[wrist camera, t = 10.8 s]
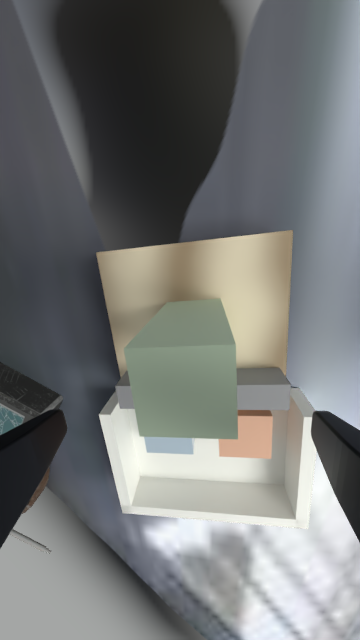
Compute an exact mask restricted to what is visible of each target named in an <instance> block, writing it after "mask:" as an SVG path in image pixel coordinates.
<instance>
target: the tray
mask: <svg viewBox="0 0 360 640" xmlns="http://www.w3.org/2000/svg"><path fill="white" fill-rule="evenodd" d="M270 411H271V413H272V416H273V426H272V454H271V459H264V458H241V457H219V440H218V439H204V438H195V440H194V454H170V453H147V450H146V445H145V439H144V437H140V435H139V430H138V424H137V419H136V413H135V409H120V407H119V402H118V397H117V392H116V391H115V392H114V393H113V395H112V396H111V398H110V399H109V401H108V402H107V403H106V405H105V406H104V408H103V409H102V411H101V412H100V413H99V418H100V422H101V426H102V430H103V434H104V438H105V442H106V446H107V450H108V455H109V459H110V463H111V467H112V471H113V475H114V479H115V483H116V487H117V492H118V496H119V500H120V504H121V508H122V512H123V513H129V514H141V515H152V516H163V517H175V518H186V519H197V520H209V521H220V522H231V523H243V524H254V525H265V526H277V527H288V528H300V529H308V526H309V517H310V508H311V498H312V489H313V480H314V470H315V461H316V451H317V450H316V447H315V445H314V442H313V440H312V437H311V424H312V414H313V412H314V411H315V409H314V408H313V407H312V405H311V404H310V402H309V401H308V400H307V398H306V397H305V395H304V394H303V393H302V391H301V390H300V388H291V391H290V408H289V410H270Z"/></svg>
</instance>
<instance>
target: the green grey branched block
mask: <svg viewBox="0 0 360 640" xmlns="http://www.w3.org/2000/svg"><path fill="white" fill-rule="evenodd" d="M124 354H125V359H126V365H127V370H128V371H126V372H125V373H124V375H123V376H122V377H121V379H120V380H119V382H118V383H117V384H116V386H115V387H116V392H117V397H118V402H119V407H120V409H135V413H136V419H137V424H138V430H139V435H140V437H171V438H204V439H237V440H238V415H237V410H289V408H290V391H291V384H290V383H289V381H288V380H287V378H286V376H285V375H284V373H283V372H282V370H281V369H280V368H236V343H235V340H234V337H233V334H232V331H231V328H230V325H229V322H228V319H227V316H226V313H225V310H224V307H223V304H222V301H221V298H219V299H205V300H191V301H176V302H167V303H166V304H165V305H164V306H163V307H162V308H161V309H160V310H159V311H158V313H157V314H156V315H155V316H154V317H153V318H152V319H151V320H150V321H149V322H148V323H147V324H146V325H145V326H144V327H143V329H142V330H141V331H140V332H139V333H138V334H137V335H136V336H135V337H134V338H133V339H132V340H131V341H130V342H129V343H128V345H127V346H126V347H125V348H124Z"/></svg>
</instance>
